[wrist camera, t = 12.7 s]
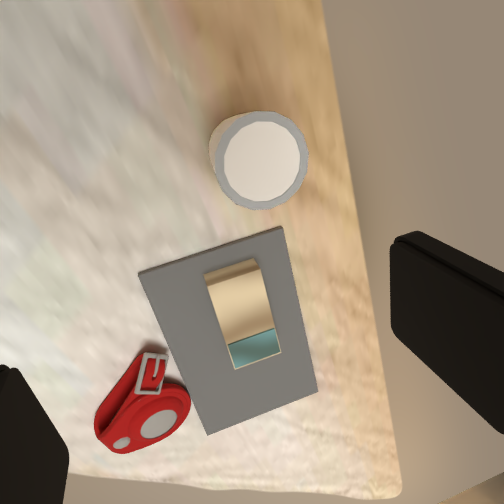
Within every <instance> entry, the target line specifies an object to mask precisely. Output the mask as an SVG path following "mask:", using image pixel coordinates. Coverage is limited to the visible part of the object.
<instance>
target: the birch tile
mask: <svg viewBox="0 0 504 504" xmlns="http://www.w3.org/2000/svg"><path fill="white" fill-rule="evenodd" d="M203 275H204V278H205V282H206V285H207V288H208V291H209V294H210V297H211V300H212V303H213V306H214V309H215V312H216V315H217V318H218V321H219V324H220V327H221V330H222V333H223V336H224V339H225V342H226V345H227V348H228V351H229V354H230V357H231V360H232V363H233V366H234V369H235V370H236V369H239V368H241V367H244V366H247V365H249V364H252V363H255V362H258V361H260V360H263V359H266V358H268V357H271V356H274V355H277V354H279V353H281V349H280V345H279V341H278V337H277V333H276V329H275V325H274V321H273V317H272V313H271V309H270V305H269V301H268V297H267V293H266V289H265V285H264V281H263V277H262V273H261V269H260V268H259V266H258V264H257V263H256V261H255V260H254V258H252V259H249V260H246V261H242V262H239V263H236V264H233V265H230V266H227V267H224V268H221V269H218V270H215V271H212V272H209V273H206V274H203Z"/></svg>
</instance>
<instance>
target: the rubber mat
mask: <svg viewBox="0 0 504 504" xmlns="http://www.w3.org/2000/svg"><path fill="white" fill-rule="evenodd" d="M252 258H254V260H255V261H256V263H257V264H258V266H259V268H260V269H261V273H262V277H263V281H264V285H265V289H266V293H267V297H268V301H269V305H270V309H271V313H272V317H273V321H274V325H275V329H276V333H277V337H278V341H279V345H280V349H281V353H279V354H277V355H274V356H271V357H268V358H266V359H263V360H260V361H258V362H255V363H252V364H249V365H247V366H244V367H241V368H239V369H236V370H235V369H234V366H233V363H232V360H231V357H230V354H229V351H228V348H227V345H226V342H225V339H224V336H223V333H222V330H221V327H220V324H219V321H218V318H217V315H216V312H215V309H214V306H213V303H212V300H211V297H210V294H209V291H208V288H207V285H206V282H205V278H204V275H203V274H206V273H209V272H212V271H215V270H218V269H221V268H224V267H227V266H230V265H233V264H236V263H239V262H242V261H246V260H249V259H252ZM138 277H139V279H140V282H141V284H142V286H143V288H144V291H145V293H146V295H147V298H148V300H149V302H150V305H151V307H152V309H153V311H154V314H155V316H156V318H157V321H158V323H159V325H160V328H161V330H162V332H163V335H164V337H165V339H166V341H167V344H168V346H169V348H170V351H171V353H172V355H173V358H174V360H175V362H176V364H177V367H178V369H179V371H180V374H181V376H182V378H183V381H184V383H185V385H186V388H187V390H188V392H189V394H190V397H191V399H192V401H193V404H194V406H195V408H196V411H197V413H198V415H199V418H200V420H201V422H202V424H203V427H204V429H205V431H206V434H207V436H208V435H210V434H213V433H215V432H218V431H220V430H223V429H226V428H228V427H231V426H233V425H236V424H238V423H241V422H243V421H246V420H248V419H251V418H253V417H256V416H258V415H261V414H263V413H266V412H268V411H271V410H273V409H276V408H279V407H281V406H284V405H286V404H289V403H291V402H294V401H296V400H299V399H301V398H304V397H306V396H309V395H311V394H314V393H316V392H318V388H317V383H316V379H315V374H314V369H313V365H312V360H311V356H310V351H309V346H308V342H307V337H306V333H305V328H304V323H303V319H302V314H301V309H300V305H299V300H298V296H297V291H296V286H295V282H294V277H293V273H292V268H291V263H290V259H289V254H288V250H287V245H286V240H285V236H284V231H283V228H282V227H281V226H280V227H277V228H274V229H270V230H267V231H264V232H261V233H258V234H255V235H252V236H249V237H246V238H243V239H240V240H237V241H234V242H231V243H228V244H225V245H222V246H219V247H216V248H213V249H210V250H207V251H204V252H201V253H198V254H194V255H191V256H188V257H185V258H182V259H179V260H176V261H173V262H170V263H167V264H164V265H161V266H158V267H155V268H152V269H149V270H146V271H143V272H140V273H138Z"/></svg>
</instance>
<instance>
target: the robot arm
mask: <svg viewBox="0 0 504 504" xmlns="http://www.w3.org/2000/svg"><path fill="white" fill-rule="evenodd" d="M390 300H391V301H390V302H391V303H390V306H391V328H392V330H393V333H394V334H395V336H396V337H397V338H398V339H399V340H400V341H401V342H402V343H403V344H404V345H406V346H407V347H408V348H409V349H410V350H411V351H412V352H413V353H414V354H415V355H416V356H417V357H418V358H419V359H421V360H422V361H423V362H424V363H425V364H426V365H427V366H428V367H429V368H430V369H431V370H432V371H433V372H435V374H437V375H438V376H439V377H440V378H441V379H442V380H443V381H444V382H445V383H447V385H448V386H449V387H450V388H452V389H453V390H454V391H455V392H456V393H457V394H458V395H459V396H460V397H461V398H462V399H463V400H464V401H465V402H466V403H468V404H469V405H470V406H471V407H472V408H473V409H474V410H475V411H476V412H477V413H478V414H479V415H481V416H482V417H483V418H484V419H485V420H486V421H487V422H488V423H489V424H490V425H491V426H492V427H493V428H494V429H496V430H497V431H498V432H500V433H502V434H504V272H502V271H499V270H497V269H495V268H493V267H491V266H489V265H487V264H485V263H483V262H481V261H479V260H477V259H475V258H473V257H471V256H469V255H467V254H465V253H463V252H461V251H459V250H457V249H455V248H453V247H451V246H449V245H447V244H445V243H443V242H441V241H439V240H437V239H435V238H433V237H431V236H429V235H427V234H425V233H423V232H420V231H414V232H410V233H407V234H405V235H401V236H398V237H397V238H395V240H394V244H392V245H391V246H390ZM68 466H69V452H68V448H67V446H66V444H65V442H64V441H63V439H62V438H61V436H60V434H59V433H58V431H57V430H56V428H55V426H54V425H53V423H52V422H51V420H50V419H49V417H48V415H47V414H46V412H45V411H44V409H43V407H42V406H41V404H40V403H39V401H38V399H37V398H36V396H35V395H34V393H33V391H32V390H31V388H30V387H29V385H28V384H27V382H26V380H25V379H24V377H23V376H22V374H21V372H20V371H19V370H18V369H17V368H11V369H10V368H9V367H8V366H6V365H0V504H63V498H64V491H65V485H66V479H67V473H68ZM438 504H504V472H503V473H501V474H499V475H497V476H495V477H492V478H490V479H488V480H486V481H484V482H482V483H480V484H478V485H476V486H474V487H472V488H470V489H467V490H465V491H463V492H461V493H459V494H457V495H455V496H453V497H451V498H449V499H447V500H445V501H442V502H440V503H438Z"/></svg>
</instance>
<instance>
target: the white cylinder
mask: <svg viewBox="0 0 504 504" xmlns="http://www.w3.org/2000/svg"><path fill="white" fill-rule="evenodd" d="M308 155H309V152H308V149H307V145H306V142H305V138H304V135H303V133H302V132H301V131H300V130H299V129H298V127H297V126H296V125H295V124H294V122H293V121H292V120H291V119H288V118H286V117H284V116H282V115H280V114H278V113H276V112H270V111H254V112H249V113H244V114H239V115H234V116H232V117H230V118H228V119H225V120H223V121H222V122H221V123H220V124H219V125H218V126H217V127H216V128H215V129H214V131H213V133H212V136H211V139H210V141H209V158H210V161H211V163H212V166H213V169H214V172H215V175H216V177H217V179H218V182H219V184H220V186H221V189H222V191H223V192H224V193H225V194H226V195H227V196H228V197H229V198H230V199H231V200H232V201H233V202H234V203H235V204H237V205H240V206H243V207H245V208H248V209H251V210H264V209H271V208H274V207H276V206H278V205H280V204H282V203H285V202H286V201H287V200H288V199H289V198H290V197H291V196H292V195H293V194H294V193H295V192H296V191H297V190H298V189H299V188H300V186H301V184H302V182H303V179H304V177H305V175H306V173H307V167H308Z"/></svg>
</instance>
